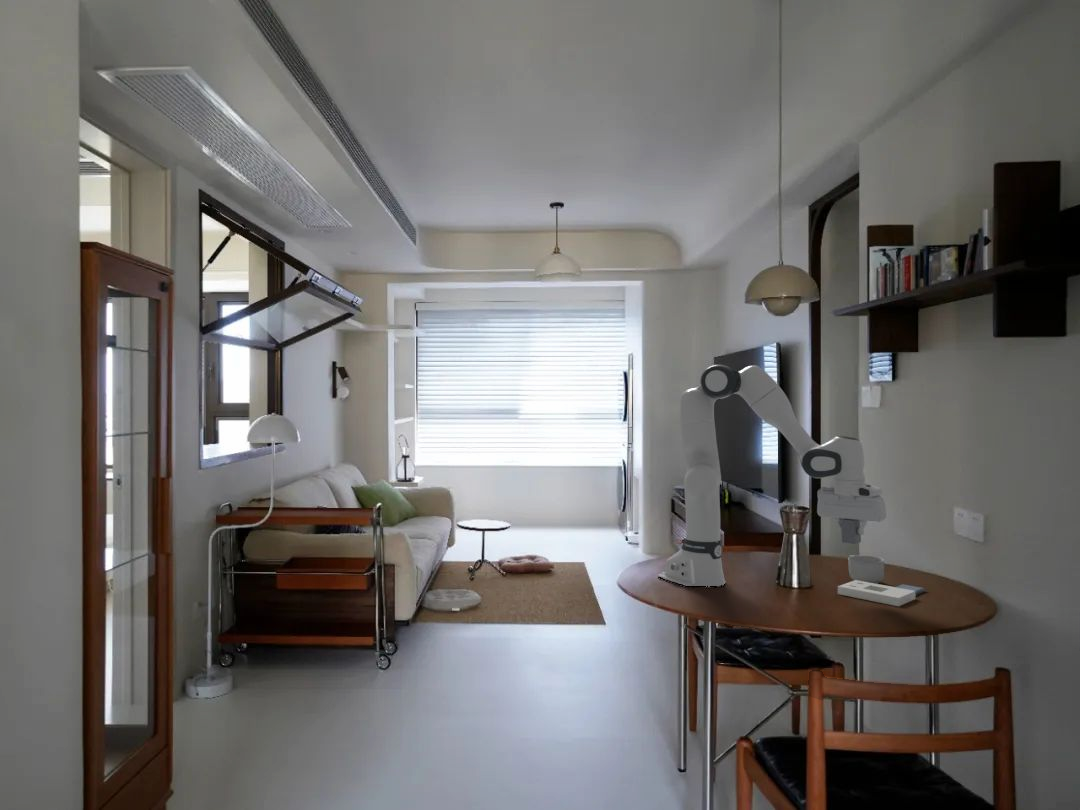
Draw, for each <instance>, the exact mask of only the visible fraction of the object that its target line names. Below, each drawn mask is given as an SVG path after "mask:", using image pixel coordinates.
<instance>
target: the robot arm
mask: <svg viewBox="0 0 1080 810" xmlns="http://www.w3.org/2000/svg"><path fill="white" fill-rule="evenodd" d="M699 382H700V384H699V386H697V387H692V388H688V389H686V390H685V391H683V392H682V394H681V396H680V399H679V400H680V402H679V403H680V404H679V421H680V422H679V423H680V432H681V433H680V435H681V443H682V450H683V456H684V461H685V467H686V468H685V469H686V473H685V475H684V478H683V479H684V480H683V483H684V484H683V486H684V487H683V488H684V489H683V490H684V506H685V507H684V508H685V538H683V539H680V540H678V541H679V543H678V544H679V545H681V548H680V549H679V550H678V551H676V552H675V553H674V554H673V555H671V556H670V557H668V558H667V559H666V562H665V567H664V571H662V572H660V573H658V574H657V577H658V576H660V577H663V578H666V579H669V580H671V581H674V582H677V583H679V584H683V585H686V586H706V587H705V588H711V587H710V586H717V587H721V585H722V586H724V584H725V583H727V582H726V580H725V575H724V571H723V564H722V553H723V552H722V551H723V545H722V544H723V542H722V541H723V540H722V539H721V506H720V505H721V502H720V499H721V498H720V497H721V496H720V485H721V482H722V474H721V466H720V458H719V450H718V449H719V448H718V444H717V443H718V442H717V434H716V424H715V414H714V413H715V412H714V405H715V403H716V402H718V401H721V400H723V399H725V398H729V397H730V396H731V395H734V394H735V395H739V396H740V397H741V398H742V399H743V400H744V401H745V402H746V404H748V406H749V407H750V409H752V411H753V412H754V413H755V414H756V415H757V416H758V418H760V419H761V420H762V421H763V422H765V423H766V424H768V425H770V426H772V427H773V428H775V429H776V430H778V431H779V432H780V434H782V435H783V437H784V438H785V439H786V440H787V441H788V443H789V444H790V445H791V447H793V449H794V450H795V451H796V453H797V455H798V457H799V462H800V465H801V468H802V469H803V471H804V473H805V474H806V475H808V476H809V477H811V478H813V479H823V478H827V477H832V476H833V487H826V486H822V487H821V488H819V489H818V490H817V494H816V495H817V504H816V505H817V506H816V507H817V508H816V513H817V515H818V516H819V517H822V518H823V517H824V518H832V519H833V518H834V522H835V523H836V526H837V528H838V532H839V533H840V534H842V527H841V520H842V519H854V520H859V521H860V528H858V529H856V531H857V532H856V534H857V535H861V536H863V535H864V534H865V530H864V529H865V527H866V526H867V525H868V522H869V521H870V522H877V523H878V522H884V521H885V519H886V518H887V509H886V502H885V500H884V498H883V497H882V496H881V495H883V489H882V488H881V487H878V486H876V485H873V484H870V483H868V482H866V477H865V475H864V468H865V455H864V449H863V448H864V447H863V444H862V442H861V441H860V439H858V438H856V437H852V436H846V435H845V436H844V435H836V436H834V437H833V438H831V439H830V440H828V441H827V442H824V443H822V444H819V443H817V442H816V441H815V439H813V438H812V436H810V435H809V433H808V432H807V431H806V430H805V428H804V427H803V426H802V424H800V422H799V421H798V419H797V417H796V415H795V413H794V409H793V407H792V404H791V402H790V400H789V398H788V396H787V395H786V393H785V391H783V389H782V388H781V386H780V385H779V384H778V383H777V382H776V381H775V380H774V378H772V376H770V374H769V373H768V372H766V371H765V370H763V368H761V367H760V366H759V365H748V366H745V367H744V368H742V369H741V370H736V369H733V368H731V367H729V366H727V365H724V364H713V365H710V366H708V367H707V368H705V370H704V371H703V372H702V374H701V376H700V381H699ZM725 585H726V584H725ZM707 586H708V587H707Z"/></svg>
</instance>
